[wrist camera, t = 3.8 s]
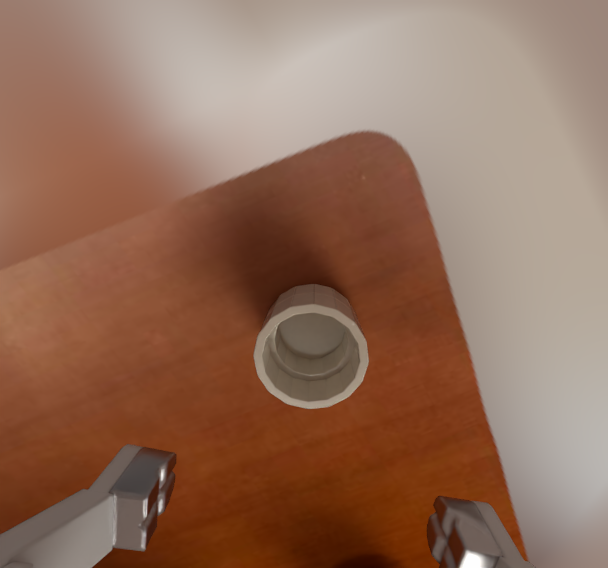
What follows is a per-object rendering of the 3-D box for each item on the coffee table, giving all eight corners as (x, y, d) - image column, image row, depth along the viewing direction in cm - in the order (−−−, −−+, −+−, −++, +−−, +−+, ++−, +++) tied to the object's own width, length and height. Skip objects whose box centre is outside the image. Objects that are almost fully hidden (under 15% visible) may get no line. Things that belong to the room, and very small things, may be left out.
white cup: (250, 310, 22) (232, 340, 17) (328, 265, 21) (331, 283, 16) (296, 380, 23) (292, 425, 19) (372, 340, 22) (388, 377, 18)
